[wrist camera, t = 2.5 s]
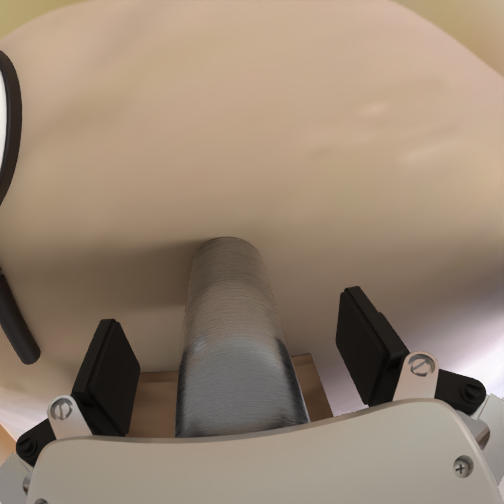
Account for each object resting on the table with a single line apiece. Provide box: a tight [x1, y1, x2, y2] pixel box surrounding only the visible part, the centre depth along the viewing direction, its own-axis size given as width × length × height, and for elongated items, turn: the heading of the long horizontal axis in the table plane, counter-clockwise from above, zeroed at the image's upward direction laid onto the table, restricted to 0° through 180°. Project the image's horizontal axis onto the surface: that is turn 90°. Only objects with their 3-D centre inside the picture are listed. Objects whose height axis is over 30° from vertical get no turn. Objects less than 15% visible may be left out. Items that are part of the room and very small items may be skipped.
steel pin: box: [174, 237, 310, 438], centre depth 11 cm, size 4×4×12 cm
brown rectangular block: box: [125, 354, 334, 438], centre depth 21 cm, size 14×20×6 cm
